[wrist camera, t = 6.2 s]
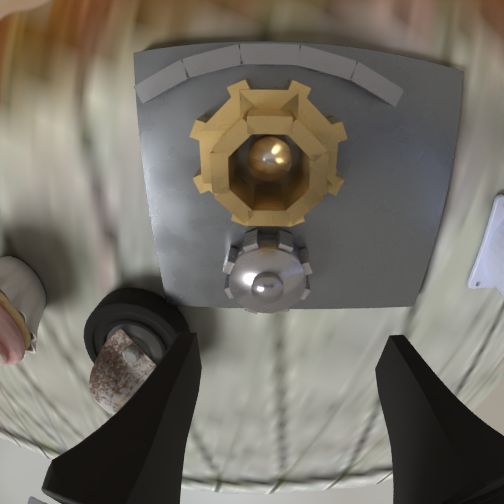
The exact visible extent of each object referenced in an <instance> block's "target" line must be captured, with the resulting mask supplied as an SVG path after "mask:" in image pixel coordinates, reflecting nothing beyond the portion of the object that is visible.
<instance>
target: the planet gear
mask: <svg viewBox="0 0 504 504" xmlns="http://www.w3.org/2000/svg"><path fill="white" fill-rule="evenodd" d="M227 89H228V91H229V93H230V95H231V98H230V99H229V100H228V101H227V102H226V103H225V104H224V105H223V106H222V107H221V108H220V109H219V110H218V111H217V112H216V113H215V114H214V115H213V117H209V116H206V115H201V116H200V117H199V118H197V119H196V120H195V123H194V126H193V128H192V131H191V134H190V137H191V138H194V139H197V140H199V143H200V159H201V167H199V169H198V171H197V172H196V174H195V175H194V177H193V180H194V182H195V184H196V186H197V188H198V190H199V192H200V194H201V193H204V192H206V191H211V192H212V194H214V195H215V197H214V198H215V199H216V200H217V201H218V202H219V203H221V204H222V205H223V206H224V207H225V208H226V209H227V210H229V211H230V212H231V213H232V219H231V221H234V222H237V223H239V224H242V225H245V226H247V227H248V226H288V227H290V226H293V225H296V224H299V223H302V222H305V220H304V215H305V214H307V213H308V212H309V211H310V210H311V209H313V208H314V207H315V206H316V205H317V204H319V203H320V202H321V201H322V200H323V195H326V193H327V192H329V193H331V194H333V195H335V196H336V195H337V193H338V191H339V189H340V187H341V185H342V183H343V182H344V179H343V178H342V176H341V175H340V173H339V172H338V170H337V169H336V164H337V151H338V142H340V141H343V140H347V139H348V138H347V135H346V132H345V129H344V126H343V123H342V121H341V120H339V119H338V118H336V117H335V116H333V117H330V118H327V119H326V118H325V117H324V116H323V115H322V114H321V113H320V112H319V111H318V109H317V108H316V107H315V106H314V105H313V104H312V103H311V102H310V101H309V100H308V99H307V97H308V94H309V92H310V90H311V88H310V87H307V86H305V85H303V84H301V83H298V82H296V81H294V80H291V79H290V80H289V82H288V85H287V87H286V88H252V87H251V85H250V83H249V81H248V79H245V80H243V81H240V82H238V83H236V84H233V85H231V86H228V87H227ZM252 134H285V135H288V136H289V137H290V138H291V139H292V140H293V141H294V142H295V143H296V144H297V145H298V146H299V161H298V162H296V163H295V164H294V165H293V166H292V167H291V168H290V170H289V172H288V173H287V174H286V175H285V176H284V177H282V178H281V179H279V180H276V181H264V180H261V179H259V178H257V177H256V176H255V175H253V173H252V172H251V171H250V170H249V169H248V168H247V167H246V166H244V165H243V164H242V163H241V162H240V161H239V160H238V147H239V146H240V145H241V144H242V143H243V142H244V141H245V140H246V139H247V138H248V137H249V136H250V135H252Z"/></svg>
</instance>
